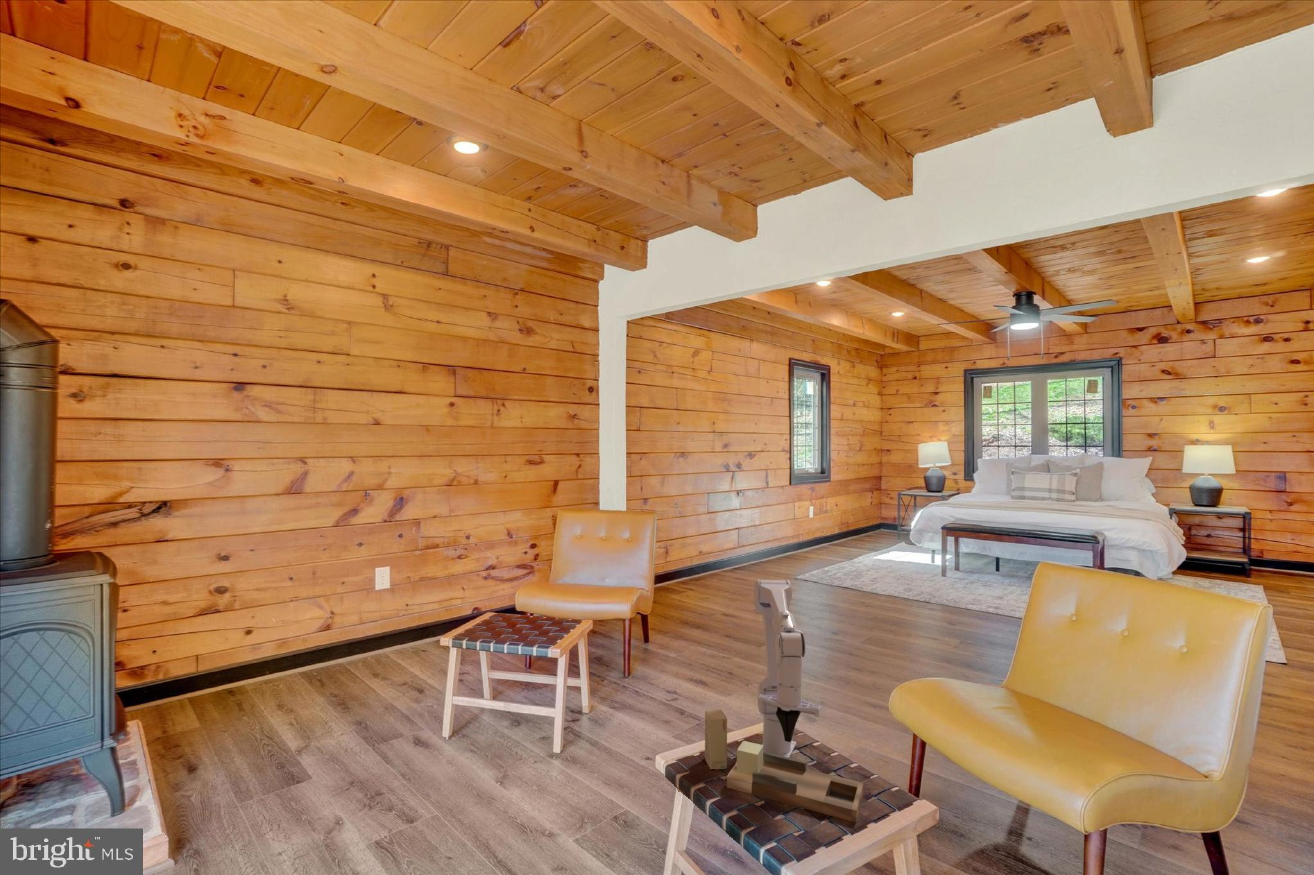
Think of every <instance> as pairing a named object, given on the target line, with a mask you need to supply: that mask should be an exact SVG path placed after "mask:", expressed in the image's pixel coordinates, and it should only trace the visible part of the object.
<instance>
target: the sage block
mask: <svg viewBox="0 0 1314 875" xmlns="http://www.w3.org/2000/svg"><path fill="white" fill-rule="evenodd" d="M763 759H764V753H763V745H762V744H759V743H754V742H750V741H747V740H743V741H742V742H741V744H740V745H739V746H738V748H737V750H736V762H737V771H739V772H743V773H747V774H750V775H752V773H753V772H754V771H755V772H760V771H761V769H762V767H763Z"/></svg>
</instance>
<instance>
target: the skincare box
mask: <svg viewBox="0 0 1314 875" xmlns="http://www.w3.org/2000/svg"><path fill="white" fill-rule="evenodd" d="M704 715H705V716H704V759H705V762H706V764H707V766H708V768H709V767H710V768H709V769H710V770H711V769H715V770H724V769H725V770H726V769H728V717H727V716H726V714H725V713H724V712H723V710H722V709H706V710H705V711H704Z"/></svg>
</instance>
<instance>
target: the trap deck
mask: <svg viewBox="0 0 1314 875" xmlns="http://www.w3.org/2000/svg"><path fill="white" fill-rule="evenodd" d="M864 784H865V783H864V782H860V781H857V780H853V779H849V778H844V777H841V776H836V775H832V774H828V773H824V772H820V771H815V770H812V769H807V761H804V760H801V759H800V760H799V759H798V758H797V759H796V758H792V757H784V756H780V755H776V754H772V753H768V752H765V753H763V767H762V769H761V771H760V772H755V771H754V772H753V773H752V775H750V774H747V773H743V772H739V771H737V761H736V762H735V764H734V765H733V767H732V768H731V769H730V771H729V772H728V774H727V775H726V788H727V789H731V790H734V791H740V792H741V793H746V794H750V795H754V796H756V797H757V796H758V797H760V798H761V797H762V798H765V799H769V800H772V801H775V802H779V803H783V804H787V805H790V806H794V807H797V808H801V809H805V810H809V811H812V812H816V813H818V814H819V813H820V814H824V815H828V816H831V817H835V818H839V819H842V820H846V821H849V822H852V823H853V822H854V823H857V822H858V821H857V820H858V818H859V814H860V810H861V805H862V802H861V801H863V797H864Z"/></svg>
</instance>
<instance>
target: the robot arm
mask: <svg viewBox="0 0 1314 875" xmlns="http://www.w3.org/2000/svg"><path fill="white" fill-rule="evenodd" d="M753 595H754V596H753V598H754V607H755V611H756V612H757V613H758V614H761V617H762V621H763V627H764V643H765V657H766V658H765V660H766V670H767V671H766V672H767V676H765V678H764V679H762V680H760V682H759V683H758V686H757V708H758V712H759V713H760V715H762V716H763V722H762V724H763V725H762V726H763V727H762V728H763V730H762V731H763V732H762V743H761V745H763V754H764V753H765V752H768V753H772V754H776V755H780V756H784V757H789V758H791V755H792V753H793V752H794V750H795V748H796V746H797V741H795V740H794V739H793V738H794V731H795V727H796V725H797V724H796V723H798V720H799V717H800V715H801V714H802V713H803V714H808V715H812V716H813V717H817V718H820V716H821V713H822V712H821V708H822V707H821V705H818V704H814V703H811V702H808V701H805V700H804V699H803V700H802V692H803V688H802V687H803V686H802V682H803V680H802V679H803V678H802V677H803V676H802V674H803V658H804V657H805V655H806V640H805V635H804V632H802V631H801V630H800V629H798V625H797V622H796V619H795V616H794V615H793V614H792V613H791V612H789V608H790V606H791V601H792V596H793V589H792V584H791V581H790V580H789V579H783V580H782V579H759V578H757V579H756V580H755V581H754V584H753Z"/></svg>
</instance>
